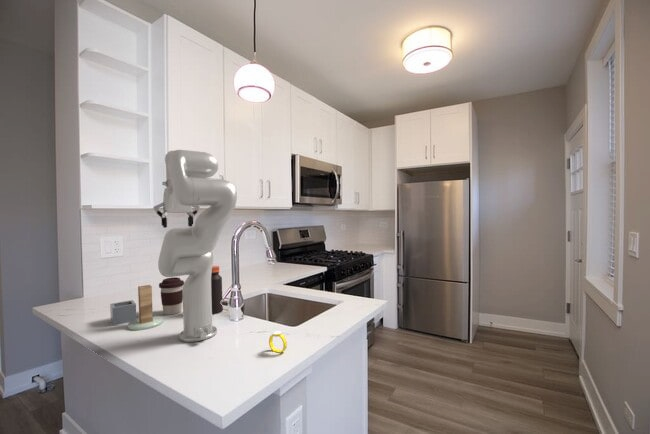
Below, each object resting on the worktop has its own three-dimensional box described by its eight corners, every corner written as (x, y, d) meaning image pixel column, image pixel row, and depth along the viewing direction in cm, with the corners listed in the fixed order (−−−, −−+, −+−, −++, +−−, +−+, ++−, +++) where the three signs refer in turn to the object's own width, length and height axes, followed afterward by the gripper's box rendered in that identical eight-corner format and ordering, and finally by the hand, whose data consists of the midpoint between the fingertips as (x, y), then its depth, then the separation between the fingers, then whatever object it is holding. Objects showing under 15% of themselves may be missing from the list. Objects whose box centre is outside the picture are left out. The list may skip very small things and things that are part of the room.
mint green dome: (166, 324, 121) (166, 321, 121) (130, 332, 113) (130, 329, 113) (159, 317, 130) (159, 314, 130) (125, 324, 122) (125, 321, 122)
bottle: (226, 310, 136) (224, 266, 136) (213, 315, 130) (212, 268, 130) (215, 308, 140) (214, 265, 139) (203, 313, 134) (201, 267, 134)
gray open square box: (136, 320, 126) (135, 303, 126) (112, 325, 121) (112, 308, 121) (133, 316, 132) (132, 299, 132) (110, 320, 127) (110, 303, 127)
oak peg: (152, 321, 121) (151, 286, 121) (141, 324, 118) (140, 288, 118) (150, 319, 124) (149, 284, 124) (139, 321, 121) (138, 286, 121)
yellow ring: (268, 352, 95) (266, 333, 95) (273, 348, 97) (272, 330, 97) (283, 355, 92) (281, 335, 92) (289, 351, 94) (287, 331, 94)
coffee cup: (189, 309, 140) (188, 276, 140) (176, 316, 130) (175, 281, 130) (168, 308, 141) (167, 276, 141) (154, 316, 131) (153, 281, 131)
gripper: (155, 183, 117) (156, 228, 117) (201, 185, 128) (202, 226, 128) (150, 185, 123) (152, 227, 123) (195, 186, 134) (196, 225, 134)
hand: (178, 226), depth 125 cm, fingers open, 9 cm apart
